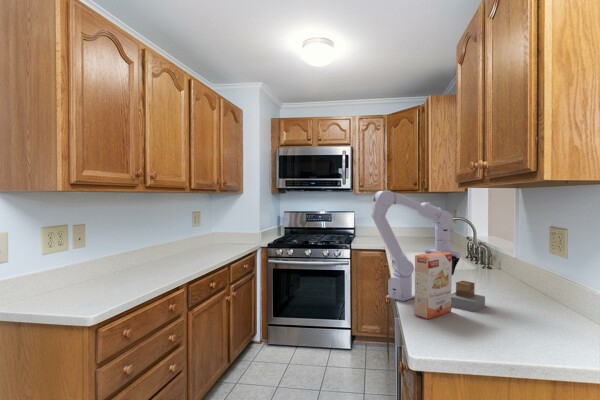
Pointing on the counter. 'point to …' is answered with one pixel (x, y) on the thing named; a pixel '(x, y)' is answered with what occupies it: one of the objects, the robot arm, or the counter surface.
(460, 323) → the counter surface
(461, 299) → the slate block
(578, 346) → the counter surface
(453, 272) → the robot arm
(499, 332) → the counter surface
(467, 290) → the walnut block
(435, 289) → the cracker box
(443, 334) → the counter surface
